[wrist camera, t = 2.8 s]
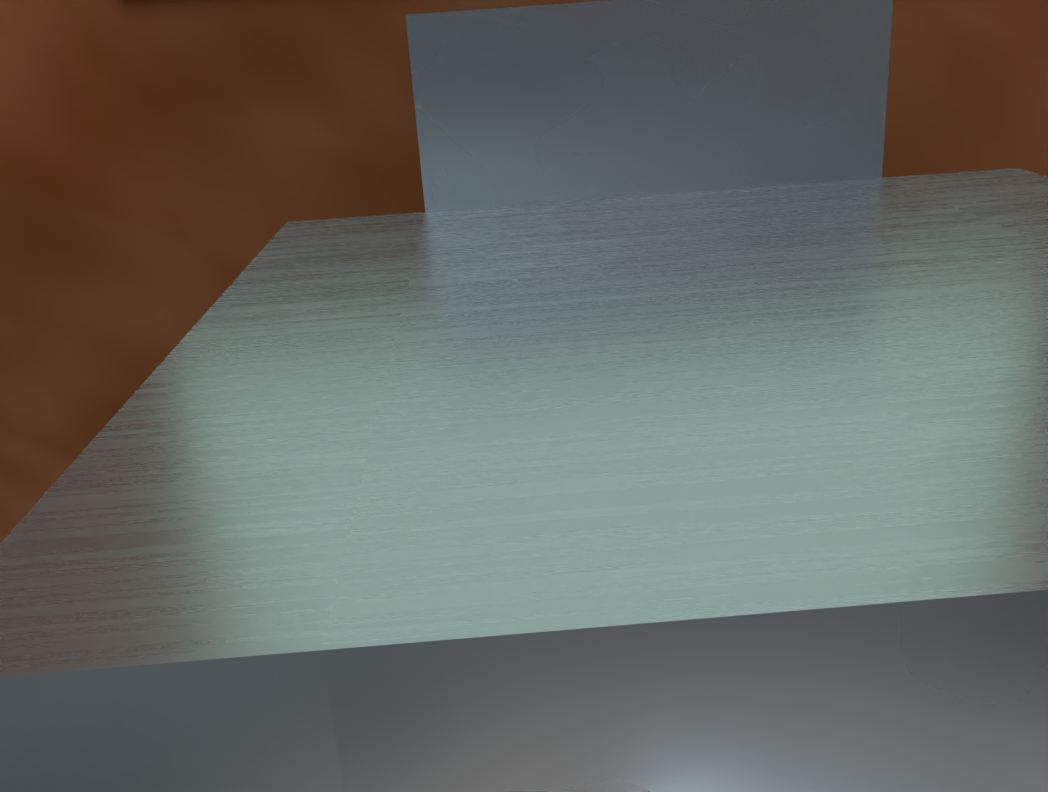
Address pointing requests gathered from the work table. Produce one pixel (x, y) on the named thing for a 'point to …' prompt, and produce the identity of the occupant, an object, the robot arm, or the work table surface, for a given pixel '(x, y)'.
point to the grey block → (646, 98)
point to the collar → (568, 510)
